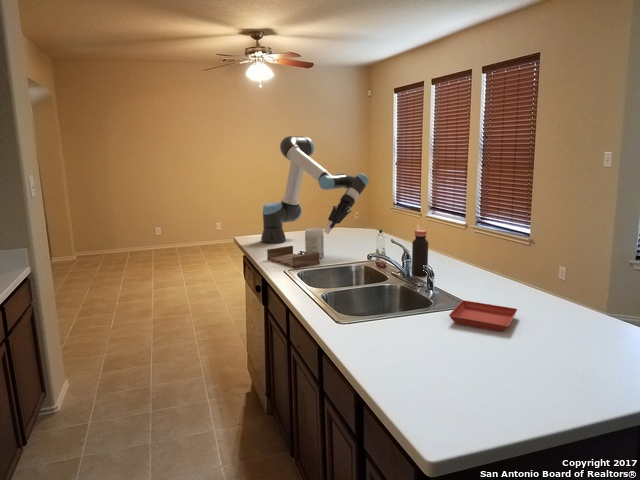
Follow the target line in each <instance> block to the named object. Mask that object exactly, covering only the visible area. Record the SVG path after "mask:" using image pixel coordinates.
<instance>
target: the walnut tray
mask: <svg viewBox="0 0 640 480" xmlns="http://www.w3.org/2000/svg"><path fill="white" fill-rule="evenodd" d="M266 251H267V252H266V255H267V258H266V259H267V261H269V262H273V263H276V264H279V265H282V266H284V267H288V268H290V269H300V268H305V267H310V266H315V265H316V266H317V265H320V260H321V258H320V257H319V253H318V252H317V253H311V254H306V253H305V254H301V255H300V254H296V253H294V245H287V246H280V247H273V248H268V249H267V250H266Z"/></svg>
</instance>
